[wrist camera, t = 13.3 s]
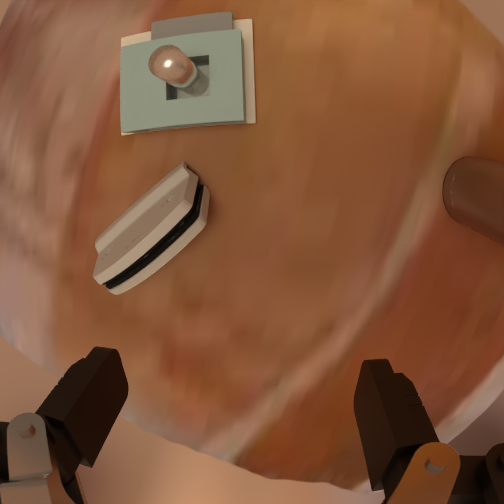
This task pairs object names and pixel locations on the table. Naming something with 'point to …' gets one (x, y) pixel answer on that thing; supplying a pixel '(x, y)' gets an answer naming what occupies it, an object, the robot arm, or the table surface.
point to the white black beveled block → (151, 231)
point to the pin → (177, 70)
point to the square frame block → (206, 59)
